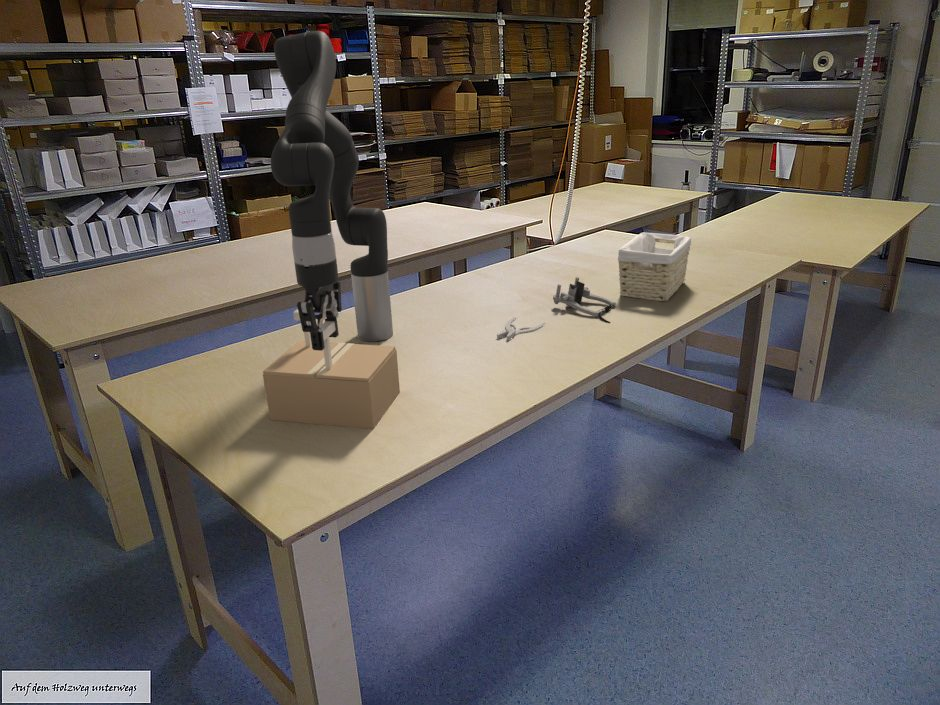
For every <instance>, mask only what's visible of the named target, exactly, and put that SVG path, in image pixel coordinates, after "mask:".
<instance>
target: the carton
mask: <svg viewBox="0 0 940 705" xmlns="http://www.w3.org/2000/svg"><path fill="white" fill-rule="evenodd" d="M292 314H293V319H294V321H295V322H296V321H297V322H298V321H300V317H299V312H298V308H297V309H295V310H294V311H293V312H292ZM300 322H301V321H300ZM306 322H307V324H308V321H306ZM303 333H304V334H303V335H304V340H298V341H297V342H296V343H295V344H294V345H293V346H291V347H290V348H289V349H288V350H286V352H284V353H283V354H282V355H280V356H279V357H278V358H277V359H275V360H274V361H273V362H272V363H271V364H269V366H267V367H266V368H265V369H263V371H262V377H263V378H262V379H263V384H264V391H265V396H266V401H267V407H268V414H269V419H270V420H272V421H281V422H292V423H293V422H294V423H302V424H313V425H314V424H316V425H327V426H336V427H337V426H339V427H349V428H359V429H360V428H362V429H372V430H373V429H375V428H376V426H377V425H378V423H379V422H380V421H381V419H382V418H383V417H384V415H385V414H386V413H387V411H388V410H389V408H390V407H391V405H392V404H393V403H394V401H395V400H396V399H397V397H398V396H399V394H400V392H401V388H400V379H399V376H400V375H399V366H398V365H399V364H398V353H397V352H398V351H397V349H396V348H395V350H394V351H393V353H392V354H391V355H390V356H389V357H388V359H387V360H386V361H385V362H384V363H383V365H382V366H381V367H380V368H379V369H378V371H377V372H376V373H375V374H374V375H373V377H372V378H371V379H370V380H369V381H355V380H341V379H327V378H316V376H315V375H316V374H317V373H318V372H319V371H320V370H321V369H322V368H323V367H324V366H325V359H324V351H323V350H322V351H319V350H313V349H312V343H311V335H310V332H303ZM345 345H347V343H346V342H330V350H331V358H333V357H334V356H335V355H336V354H337V353H338V352H339V351H340V350H341V349H342V348H343V347H344V346H345Z"/></svg>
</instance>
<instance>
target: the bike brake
mask: <svg viewBox="0 0 940 705" xmlns="http://www.w3.org/2000/svg"><path fill="white" fill-rule="evenodd" d="M579 280H580V277H579V276H576V277H575V279H574V284H572V283H569V285H568V286H569V287H568V291H567V292H561V288H562V284H559V283H558V284H557V287H556V293H555V294H554V295H553V297H552V300H553V303H554V305H558V304H559V303H562V304H565V306H566V307H569V308H572V309H575V310H577V311H578V312H580V313H583V314H586V315H589V316H593V317H595V318H598V317H599V318H600V320H602V322H605V323H608V324H611V321H608V320H607V319H605V318H604V317H603V316H602V315H604V314H605V313H607V312H608V311H610V310H611V309H612V308H616V306H617V302H616V301H613V300H610V299H608V298H606V297H603V296H601V295H596V294H593V293H591V290H590V289H589V287H588V286H586V287H585V283H584V282H581V281H579ZM583 298H586V299H587V300H593V301H598V302H601V303H602V304H603V303H604V304H606V306H605V307H604V308H603V307H601V308H600V309H598V310H596V311H594V310H591V309H589V308H586V307H584V306H582V305H581V304H582V301H583Z"/></svg>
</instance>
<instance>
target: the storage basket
mask: <svg viewBox="0 0 940 705" xmlns="http://www.w3.org/2000/svg"><path fill="white" fill-rule="evenodd" d="M656 243H660V244H661V243H664V244H673V247H674V249H665V248H658V247H656ZM691 245H692V238H691V237H690V235H681V234H680V235H678V234H669V233H668V234H667V233H657V232H640V233H639V234H637V235H636V236H635V237H633V238H632V239H630V240H629V241H628V242H627V243H625V244H624V245H622V246H621V247H619V249H618V256H617V261H618V268H619V269H618V270H619V271H618V272H619V274H618V276H619V280H618V281H619V289H620V291H619V294H620V295H621V296H622V297H628V298H634V299H642V300H649V301H656V302H662V301H663V302H667V301H668V300H669V299H670V298H671V297H672V296H673V295H674V293H676V292H677V291H678V290H679V288H680V287H681V285H682V284H684V282H685V281H686V273H687V266H688V262H689V261H688V259H689V255H690V251H691Z"/></svg>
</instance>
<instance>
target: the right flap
mask: <svg viewBox="0 0 940 705" xmlns="http://www.w3.org/2000/svg"><path fill="white" fill-rule="evenodd" d="M335 330H336V328H335V322H333V321H326V322H325V321H324V323H323V324H322V331H323V338H324V346H325V348H324V349H323V351H324V359H325V366H324V367H323V368H322V369H321V370H320V371H319V372H318V373H317V374H316V375H315V376H316V378H327V379H341V380H355V381H369V380H370V379H371V378H372V377H373V375H374V374H375V373H376V372H377V371H378V369H379V368H380V367H381V366H382V365H383V363H384V362H385V361H386V360H387V359H388V357H389V356H390V355H391V354H392V353H393V351H394V350H395V349H396V346H393V345H378V344H363V343H362V344H361V343H360V344H358V343H349V342H347V343H346V345H345V346H344V347H343V348H342V349H341V350H340V351H339V352H338V353H337V354H336V355H335V356H334V357H333V358H331V350H330V343H331V342H330V337H329V336H330V335H331V334H332V333H333V332H334V331H335Z"/></svg>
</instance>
